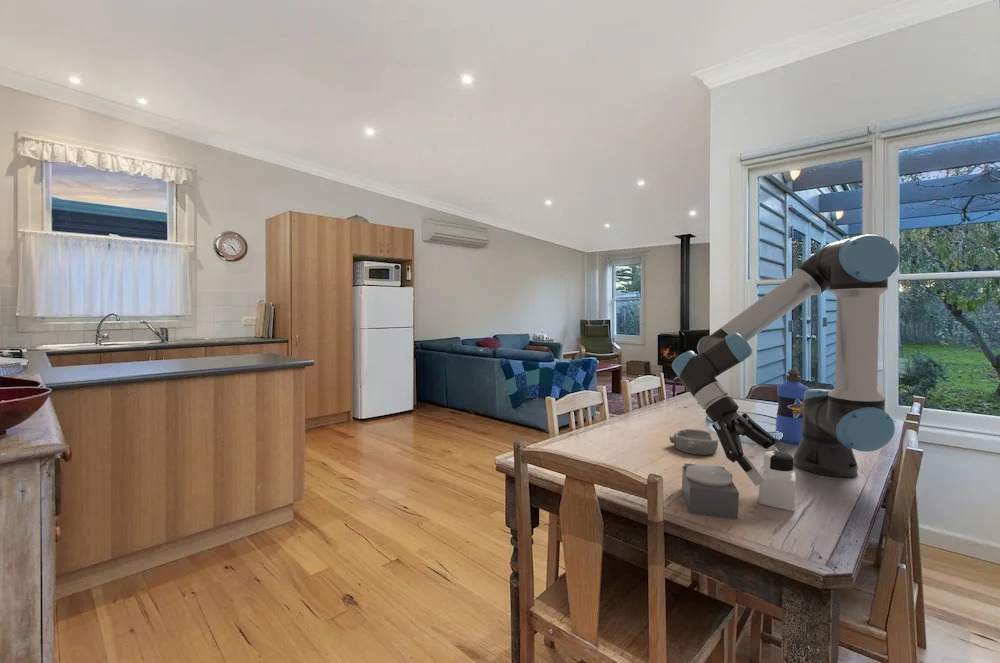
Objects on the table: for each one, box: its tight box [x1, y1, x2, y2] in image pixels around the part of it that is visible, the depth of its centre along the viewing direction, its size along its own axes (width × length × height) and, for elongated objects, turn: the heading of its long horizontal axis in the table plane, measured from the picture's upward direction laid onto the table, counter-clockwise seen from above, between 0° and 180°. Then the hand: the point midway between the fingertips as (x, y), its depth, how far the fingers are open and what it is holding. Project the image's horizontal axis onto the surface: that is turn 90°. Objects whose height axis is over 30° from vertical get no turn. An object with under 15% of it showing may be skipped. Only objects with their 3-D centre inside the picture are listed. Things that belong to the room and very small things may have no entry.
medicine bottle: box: [758, 450, 797, 512], centre depth 108 cm, size 7×7×12 cm
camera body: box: [681, 463, 740, 520], centre depth 108 cm, size 10×14×8 cm
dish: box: [669, 428, 719, 456], centre depth 148 cm, size 14×14×5 cm
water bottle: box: [775, 368, 810, 445], centre depth 158 cm, size 9×9×25 cm
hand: (775, 477), depth 108 cm, fingers open, 13 cm apart
